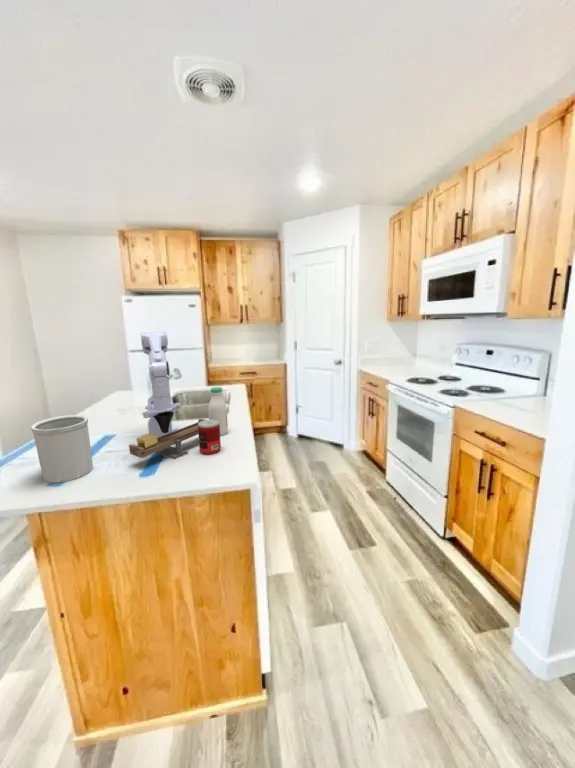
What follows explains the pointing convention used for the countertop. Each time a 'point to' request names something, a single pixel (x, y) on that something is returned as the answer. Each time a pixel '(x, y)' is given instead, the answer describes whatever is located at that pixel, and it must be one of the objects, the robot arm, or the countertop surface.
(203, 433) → the canned food
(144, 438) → the block
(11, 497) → the countertop surface
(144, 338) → the robot arm
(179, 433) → the beam
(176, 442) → the stand
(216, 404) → the milk bottle
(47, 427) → the utensil holder
